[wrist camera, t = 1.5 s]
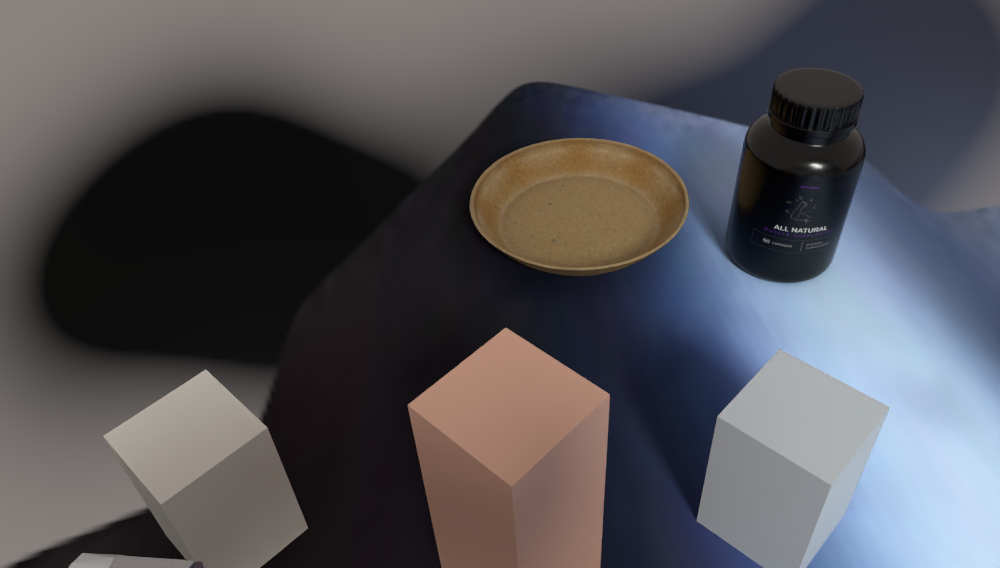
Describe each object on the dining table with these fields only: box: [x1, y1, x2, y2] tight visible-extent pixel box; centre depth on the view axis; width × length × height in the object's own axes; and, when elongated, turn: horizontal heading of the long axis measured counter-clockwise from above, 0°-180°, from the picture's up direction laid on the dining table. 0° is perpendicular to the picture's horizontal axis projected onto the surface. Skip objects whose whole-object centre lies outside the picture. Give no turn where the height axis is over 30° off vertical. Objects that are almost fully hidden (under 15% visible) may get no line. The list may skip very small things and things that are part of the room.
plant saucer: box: [470, 138, 689, 276], centre depth 55 cm, size 15×15×3 cm
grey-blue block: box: [697, 349, 890, 568], centre depth 36 cm, size 5×5×8 cm
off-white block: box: [103, 370, 308, 568], centre depth 37 cm, size 5×5×8 cm
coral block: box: [408, 328, 610, 568], centre depth 32 cm, size 5×5×13 cm
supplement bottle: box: [726, 68, 866, 283], centre depth 49 cm, size 7×7×12 cm
